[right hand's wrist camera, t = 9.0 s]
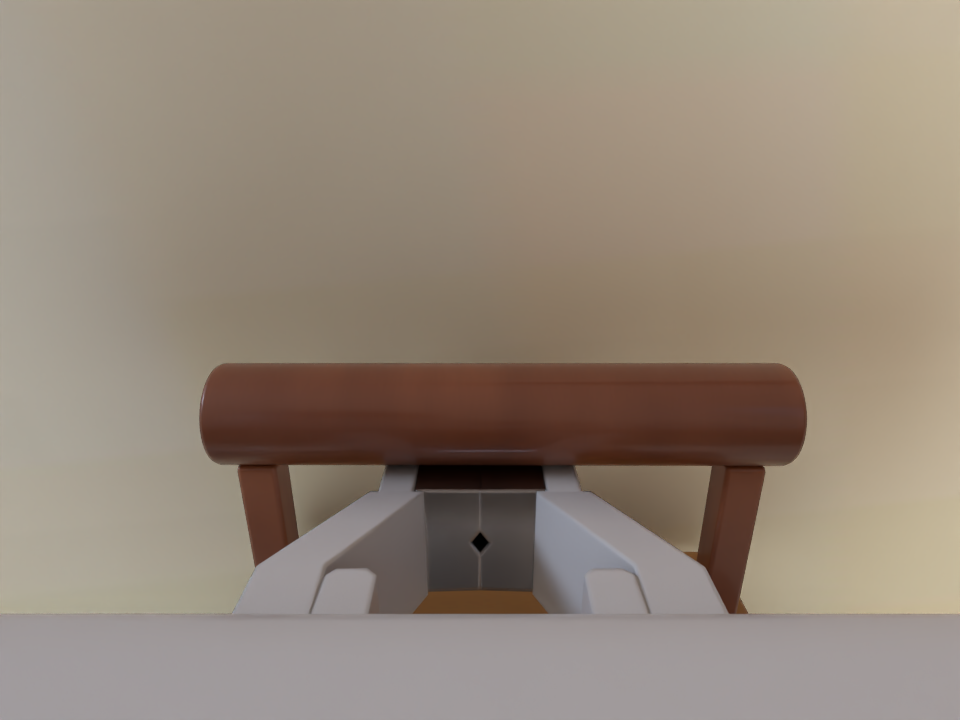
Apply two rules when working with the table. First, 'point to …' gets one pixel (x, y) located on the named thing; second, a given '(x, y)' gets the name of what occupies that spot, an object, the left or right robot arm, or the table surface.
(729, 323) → the table surface
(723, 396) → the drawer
